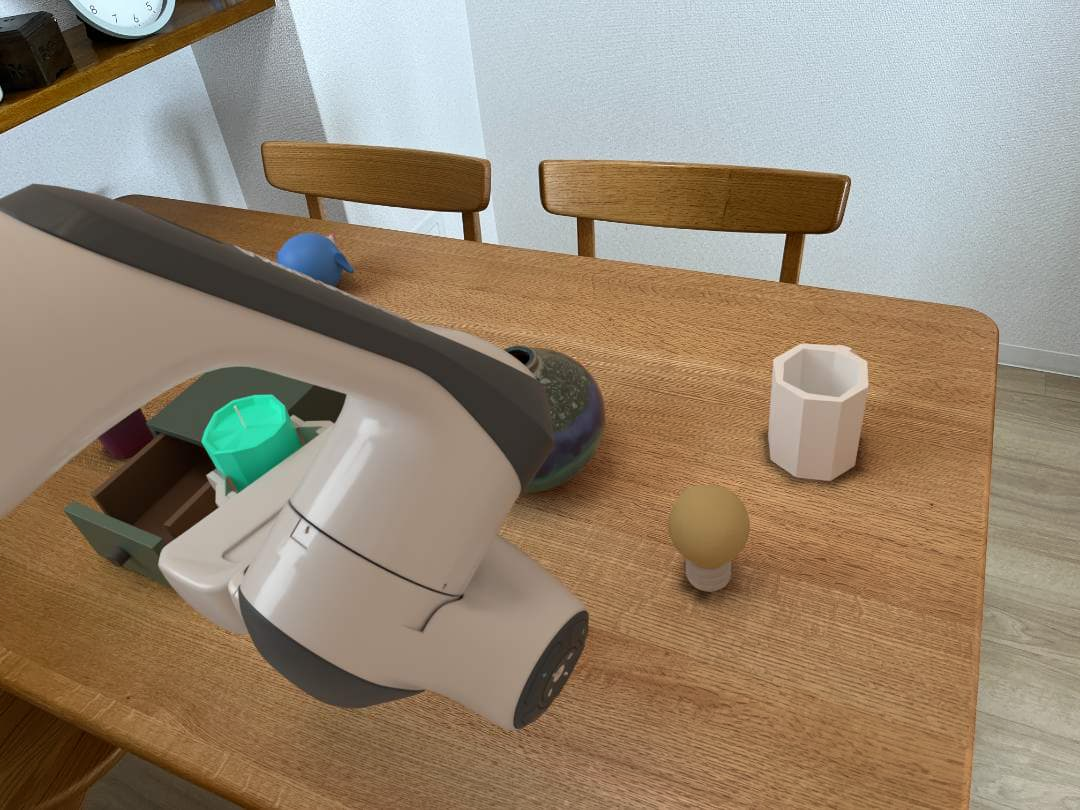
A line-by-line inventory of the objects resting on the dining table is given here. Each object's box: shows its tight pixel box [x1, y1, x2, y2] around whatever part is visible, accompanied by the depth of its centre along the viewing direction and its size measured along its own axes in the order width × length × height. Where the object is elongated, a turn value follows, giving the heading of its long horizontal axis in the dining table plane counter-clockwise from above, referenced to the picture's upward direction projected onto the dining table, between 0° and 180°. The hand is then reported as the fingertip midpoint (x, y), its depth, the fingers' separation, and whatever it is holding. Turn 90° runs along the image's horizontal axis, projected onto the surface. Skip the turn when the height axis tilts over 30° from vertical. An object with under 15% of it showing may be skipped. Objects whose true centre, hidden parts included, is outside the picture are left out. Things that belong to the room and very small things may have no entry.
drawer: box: [62, 433, 218, 589], centre depth 79 cm, size 16×12×7 cm
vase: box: [502, 344, 607, 494], centre depth 78 cm, size 15×15×13 cm
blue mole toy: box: [275, 232, 355, 288], centre depth 112 cm, size 12×12×8 cm
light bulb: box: [667, 484, 751, 593], centre depth 66 cm, size 6×6×10 cm
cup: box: [97, 407, 154, 459], centre depth 89 cm, size 7×7×15 cm
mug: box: [767, 343, 869, 482], centre depth 76 cm, size 12×9×10 cm
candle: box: [202, 395, 303, 493], centre depth 59 cm, size 6×6×12 cm
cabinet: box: [146, 367, 347, 447], centre depth 86 cm, size 16×14×9 cm
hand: (253, 451), depth 59 cm, fingers closed on candle, 5 cm apart
